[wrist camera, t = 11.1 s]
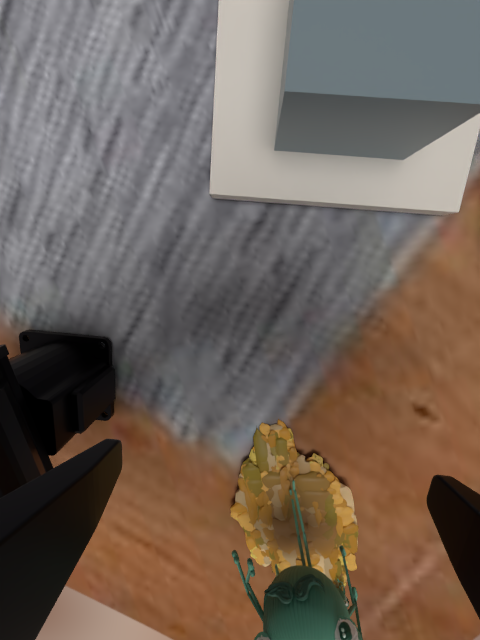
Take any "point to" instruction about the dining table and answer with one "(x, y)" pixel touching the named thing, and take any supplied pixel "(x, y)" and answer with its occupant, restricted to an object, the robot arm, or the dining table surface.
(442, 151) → the base plate
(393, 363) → the dining table surface
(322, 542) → the green and yellow piece
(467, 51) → the slate grey cube
